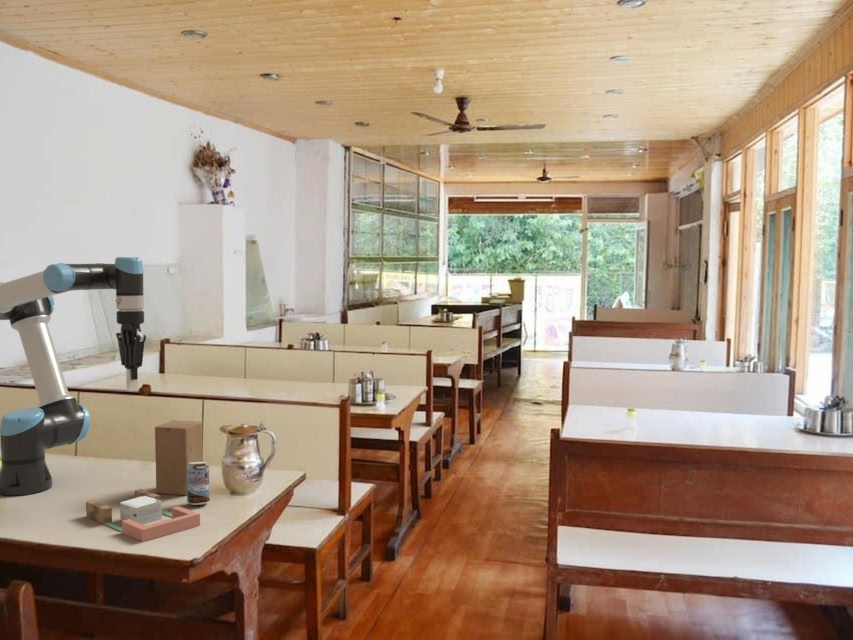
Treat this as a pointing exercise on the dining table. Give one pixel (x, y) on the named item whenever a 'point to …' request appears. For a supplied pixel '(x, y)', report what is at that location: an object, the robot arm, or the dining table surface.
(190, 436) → the wooden block
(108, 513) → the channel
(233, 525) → the dining table surface
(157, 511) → the small box
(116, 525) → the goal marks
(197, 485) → the beverage can
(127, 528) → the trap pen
